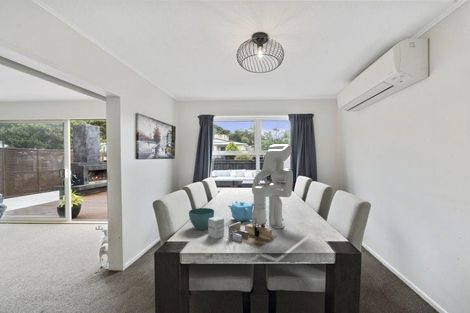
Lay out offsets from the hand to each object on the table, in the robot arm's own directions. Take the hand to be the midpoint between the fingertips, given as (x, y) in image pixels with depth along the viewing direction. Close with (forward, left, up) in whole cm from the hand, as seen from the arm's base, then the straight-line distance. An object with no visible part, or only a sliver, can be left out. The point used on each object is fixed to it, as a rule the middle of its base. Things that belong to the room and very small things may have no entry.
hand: (259, 234), depth 142 cm
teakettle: (-24, -33, -3) cm, 40 cm away
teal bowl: (+9, -44, -3) cm, 45 cm away
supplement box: (+17, -22, -3) cm, 28 cm away
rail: (0, -1, -1) cm, 1 cm away
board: (+5, -2, -2) cm, 6 cm away
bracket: (+11, -7, -1) cm, 13 cm away
